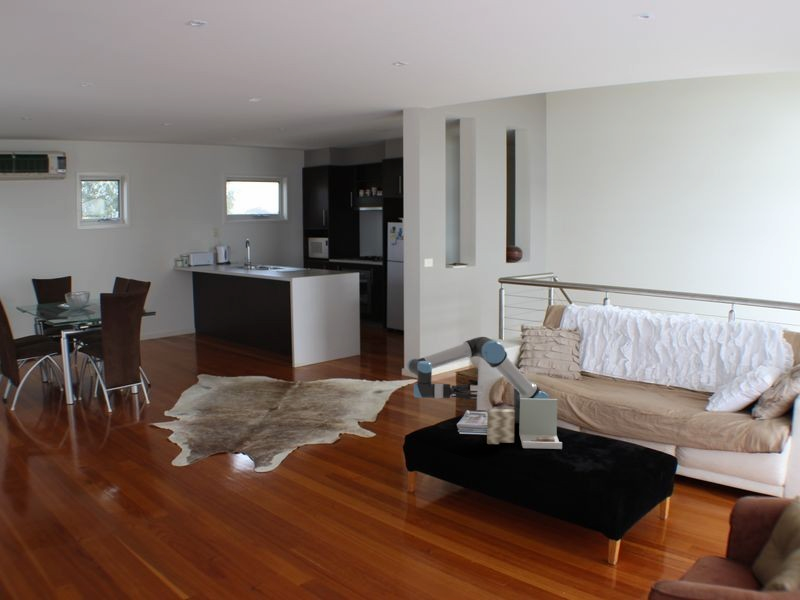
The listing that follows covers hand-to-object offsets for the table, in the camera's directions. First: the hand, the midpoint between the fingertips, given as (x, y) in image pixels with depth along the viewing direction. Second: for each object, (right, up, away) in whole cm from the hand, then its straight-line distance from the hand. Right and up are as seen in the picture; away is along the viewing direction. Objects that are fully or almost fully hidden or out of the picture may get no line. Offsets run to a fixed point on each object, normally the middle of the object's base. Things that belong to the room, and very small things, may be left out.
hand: (483, 391), depth 378 cm
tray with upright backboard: (+31, -28, +4) cm, 42 cm away
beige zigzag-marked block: (+10, -28, +4) cm, 30 cm away
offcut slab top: (+32, -26, -4) cm, 42 cm away
